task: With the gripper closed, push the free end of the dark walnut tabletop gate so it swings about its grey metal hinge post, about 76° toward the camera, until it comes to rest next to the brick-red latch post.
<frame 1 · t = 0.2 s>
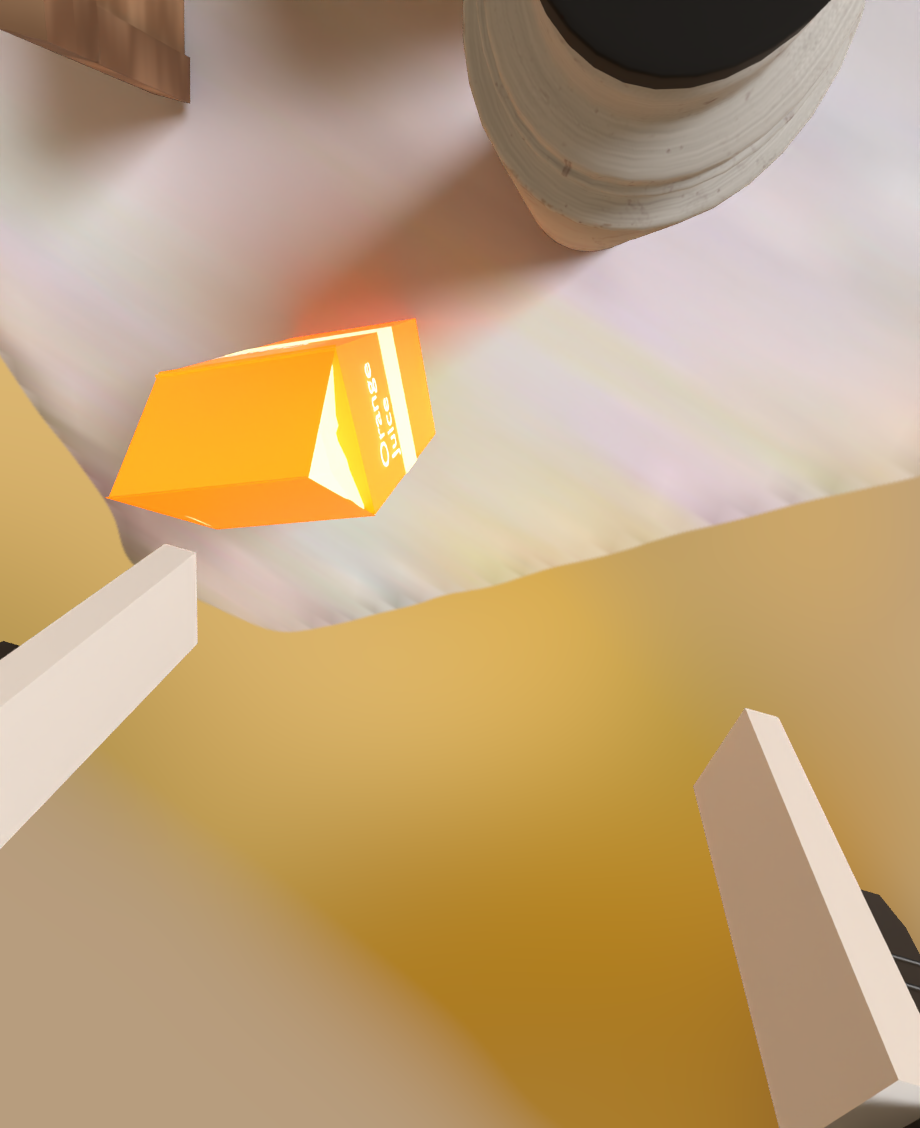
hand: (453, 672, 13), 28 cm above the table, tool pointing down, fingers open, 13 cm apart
thermos bottle: (596, 168, 31), on the table
orange juice: (366, 386, 39), on the table
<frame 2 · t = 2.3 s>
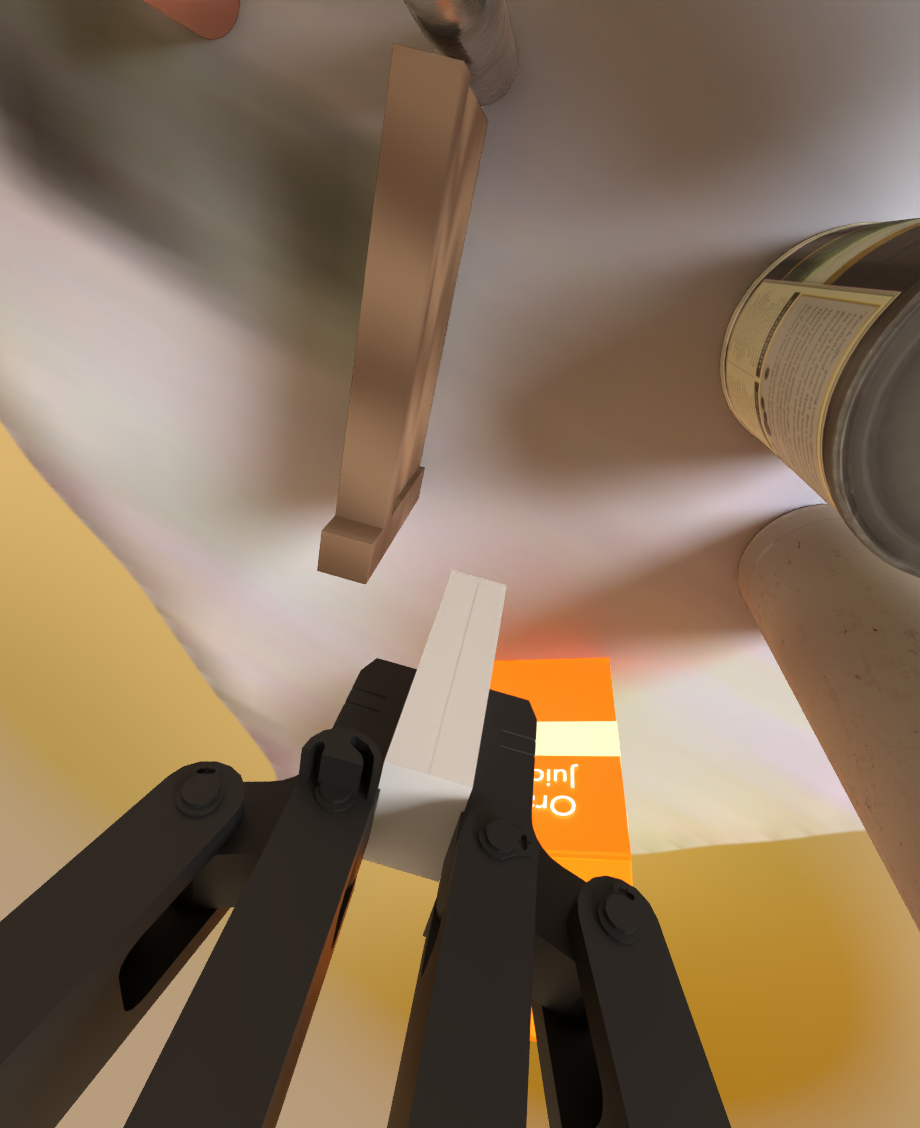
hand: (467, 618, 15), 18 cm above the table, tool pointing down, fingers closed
thermos bottle: (810, 566, 32), on the table
coffee can: (830, 346, 27), on the table
orange juice: (548, 699, 40), on the table
hinge post: (484, 62, 24), on the table
gate: (405, 347, 24), point 6 cm above the table, hinge at 0.0°
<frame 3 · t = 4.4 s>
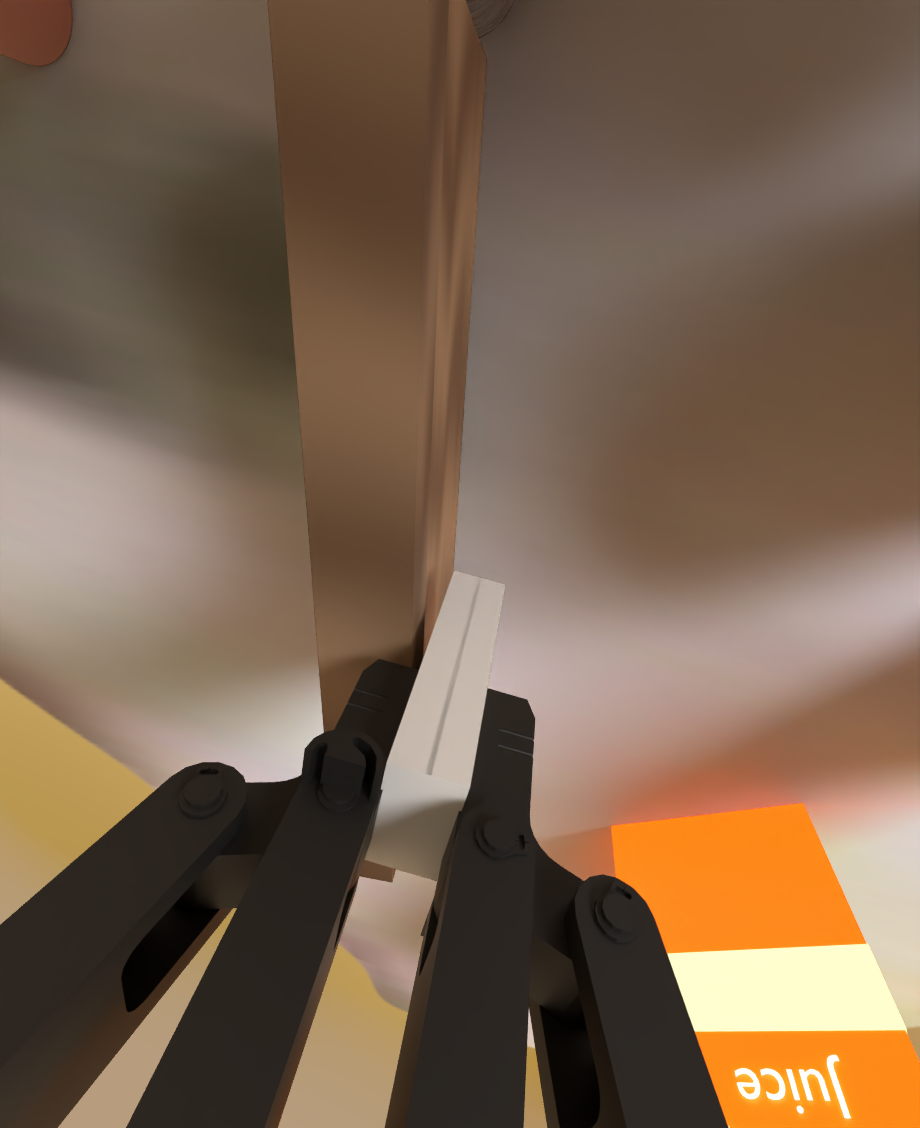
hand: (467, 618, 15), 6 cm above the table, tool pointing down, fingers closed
orange juice: (716, 861, 28), on the table
gate: (402, 467, 14), point 6 cm above the table, hinge at 3.5°, touching gripper
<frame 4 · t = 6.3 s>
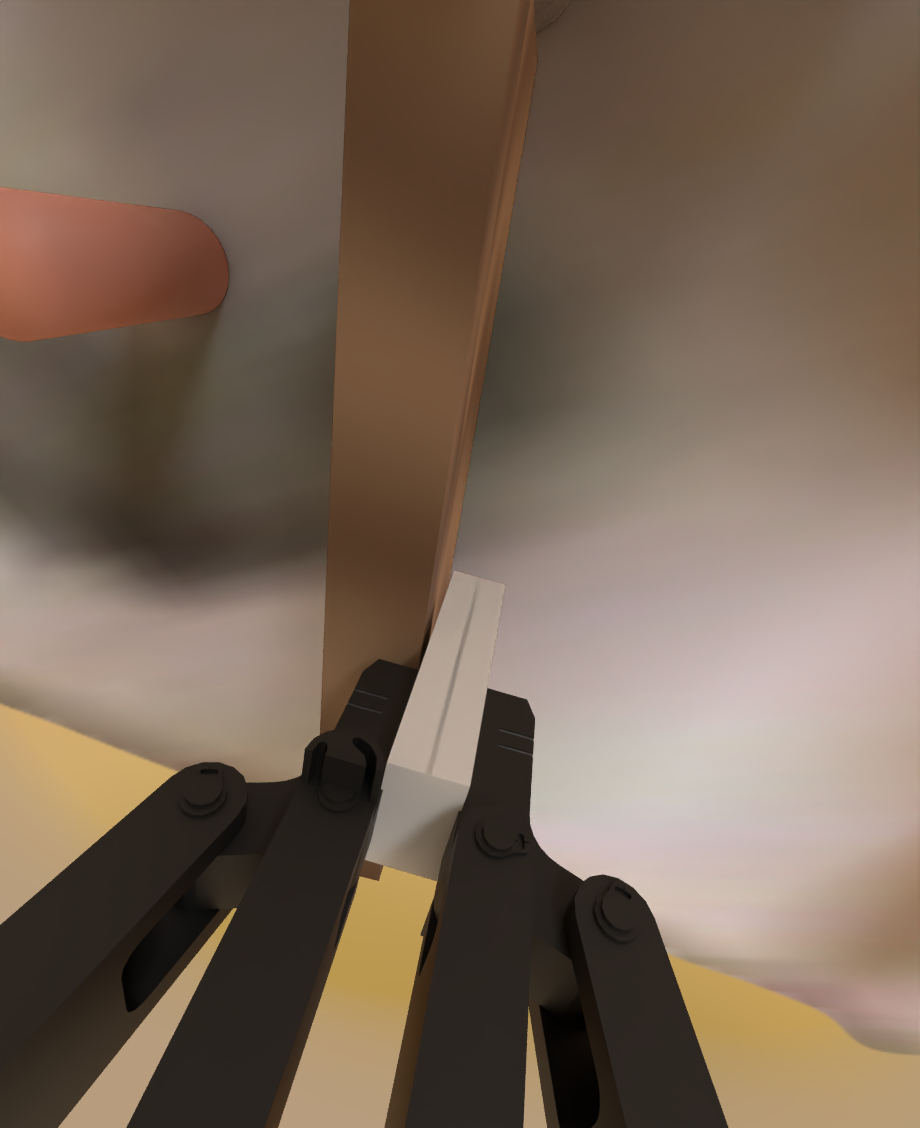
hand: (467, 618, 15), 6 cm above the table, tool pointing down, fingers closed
latch post: (184, 264, 18), on the table
gate: (420, 464, 14), point 6 cm above the table, hinge at 40.6°, touching gripper
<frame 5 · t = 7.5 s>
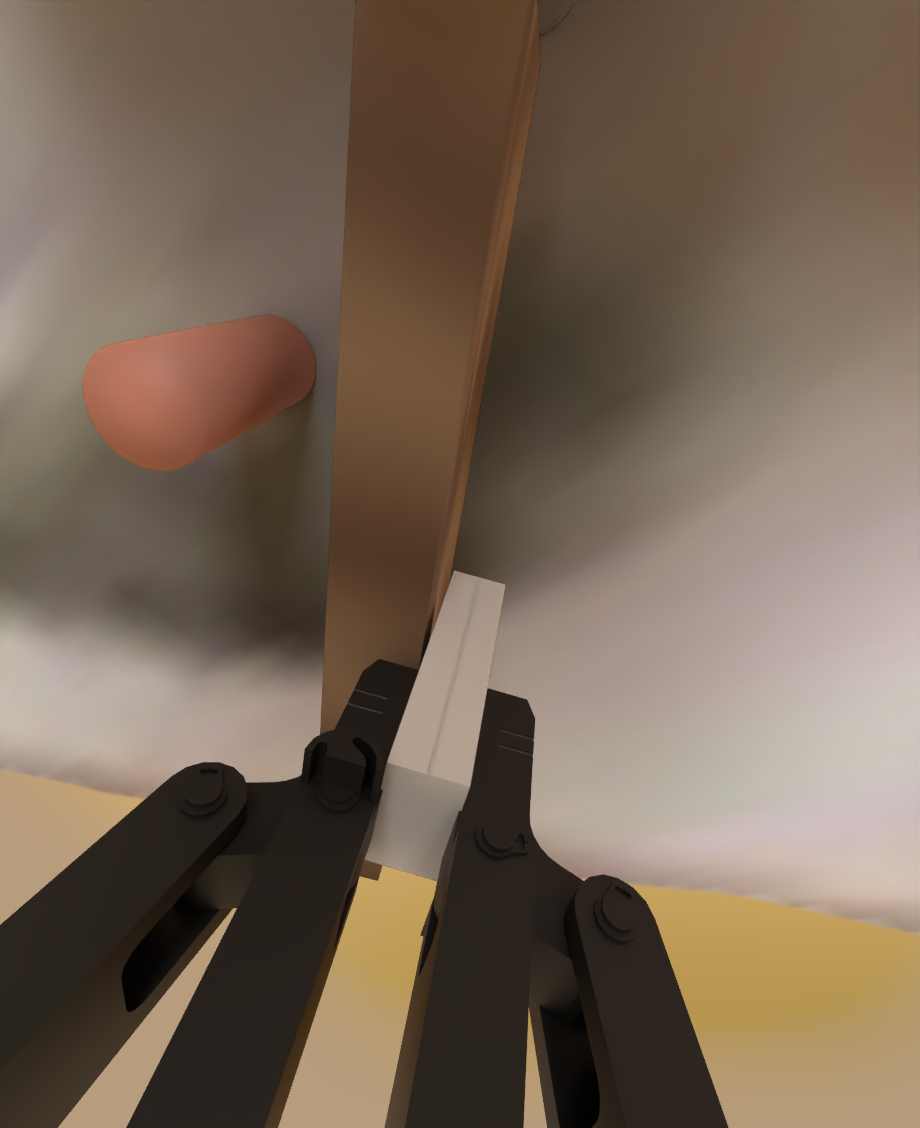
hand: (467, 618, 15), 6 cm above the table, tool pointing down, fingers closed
latch post: (273, 362, 19), on the table
gate: (421, 466, 14), point 6 cm above the table, hinge at 58.4°, touching gripper
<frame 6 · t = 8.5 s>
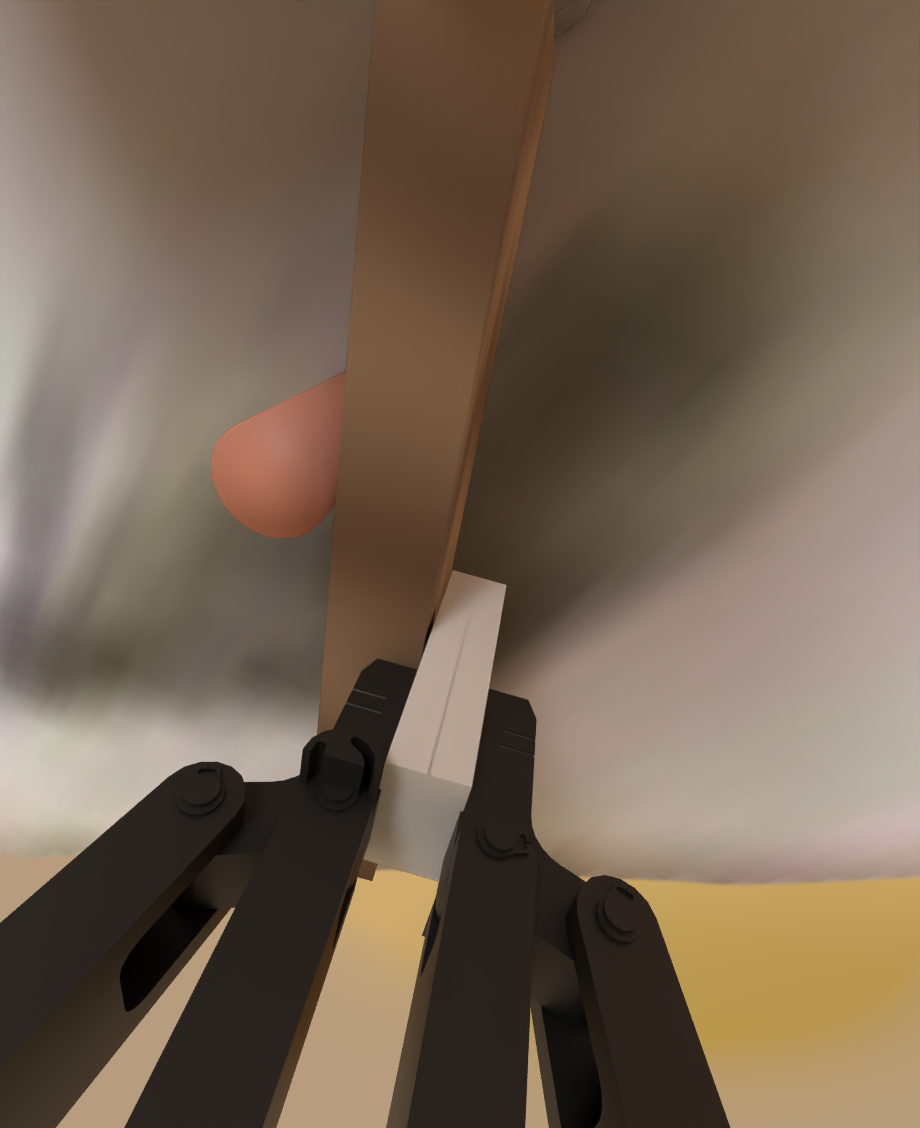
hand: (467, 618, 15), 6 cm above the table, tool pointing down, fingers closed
latch post: (359, 415, 20), on the table
gate: (426, 464, 14), point 6 cm above the table, hinge at 73.5°, touching gripper
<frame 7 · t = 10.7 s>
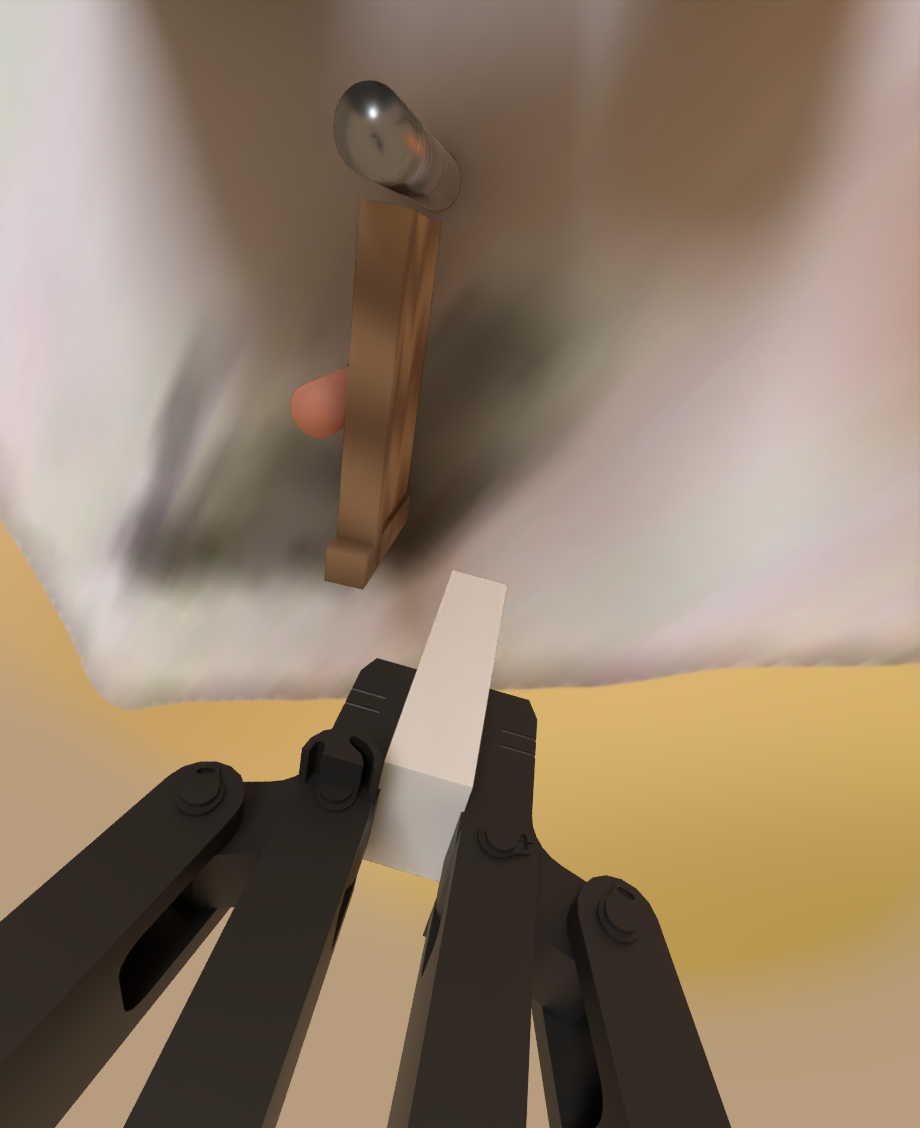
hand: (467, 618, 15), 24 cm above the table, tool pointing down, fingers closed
latch post: (357, 388, 37), on the table
hinge post: (436, 180, 31), on the table
gate: (385, 402, 31), point 6 cm above the table, hinge at 73.6°
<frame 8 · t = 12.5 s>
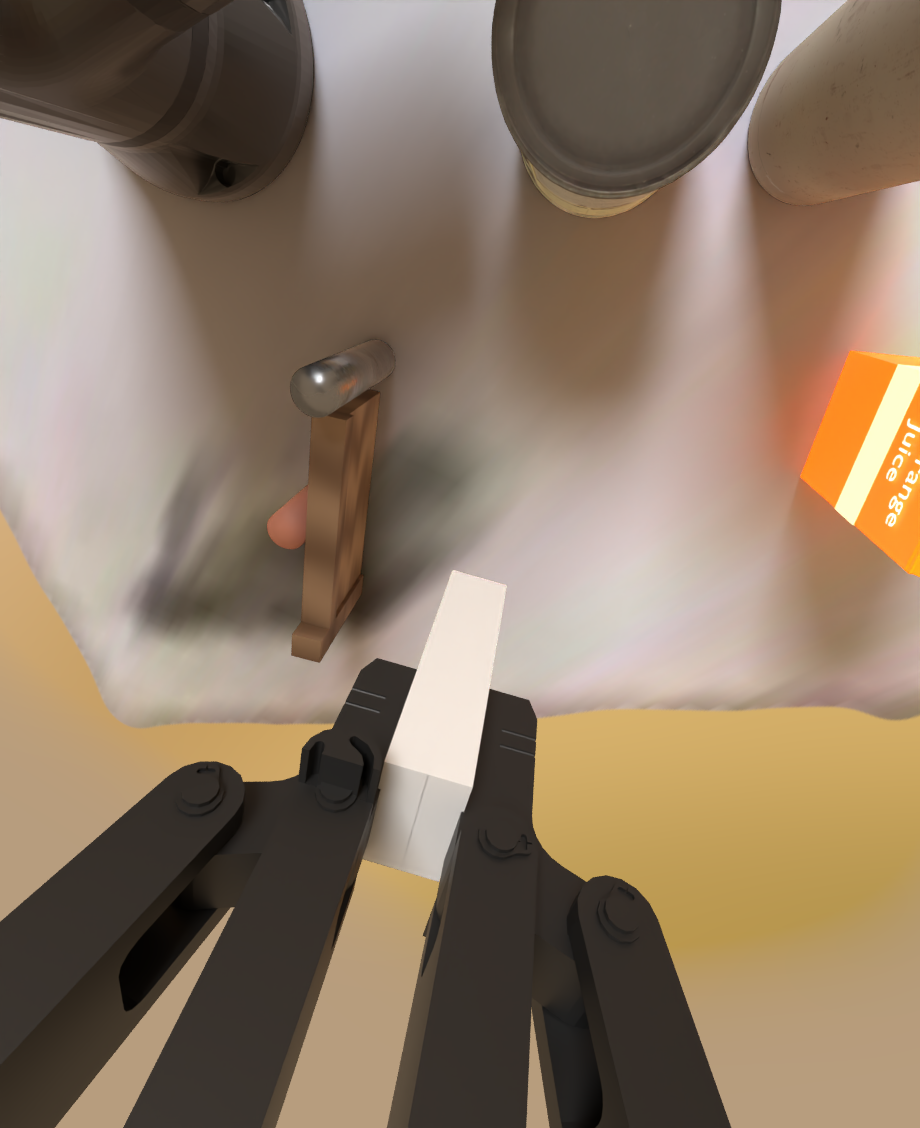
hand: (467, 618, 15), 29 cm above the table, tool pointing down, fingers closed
thermos bottle: (822, 122, 31), on the table
coffee can: (604, 118, 33), on the table
orange juice: (880, 422, 38), on the table
latch post: (321, 496, 47), on the table
hinge post: (376, 359, 41), on the table
gate: (337, 524, 42), point 6 cm above the table, hinge at 73.6°
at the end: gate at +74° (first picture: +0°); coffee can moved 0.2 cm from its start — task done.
